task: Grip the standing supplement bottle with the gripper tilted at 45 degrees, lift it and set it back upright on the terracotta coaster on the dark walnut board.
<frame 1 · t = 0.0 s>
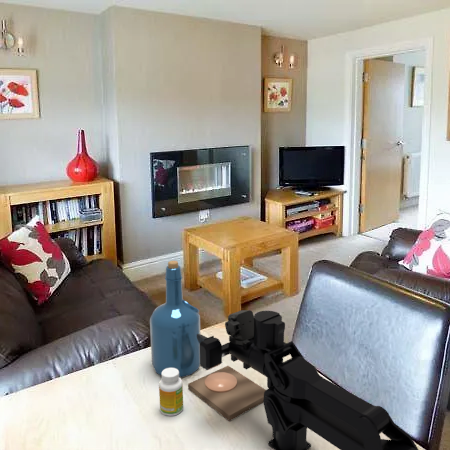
hand: (212, 329, 110), 17 cm above the table, tool horizontal, fingers open, 9 cm apart
coaster: (220, 382, 115), resting on walnut board
wine bottle: (177, 366, 126), on the table
supplement bottle: (171, 409, 108), on the table
walnut board: (228, 393, 113), on the table
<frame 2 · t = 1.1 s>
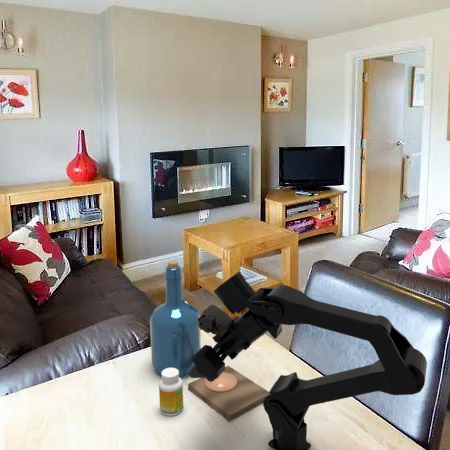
hand: (200, 365, 101), 13 cm above the table, tool tilted 45°, fingers open, 9 cm apart
nothing on the table moved.
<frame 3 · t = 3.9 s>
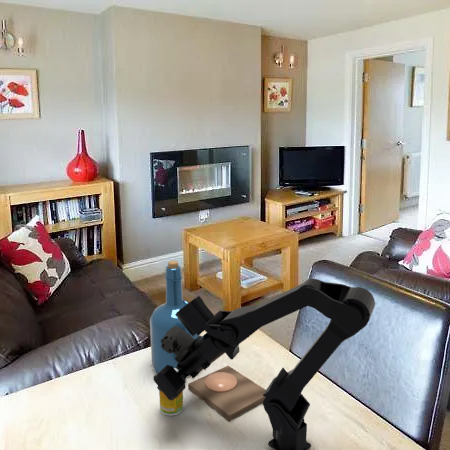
hand: (165, 382, 107), 7 cm above the table, tool tilted 45°, fingers closed on supplement bottle, 5 cm apart
supplement bottle: (171, 409, 108), on the table, touching gripper
everything else where it was.
when the fingers open (10 cm above the table, at t = 7.9 s): supplement bottle stays where it is, resting on coaster.
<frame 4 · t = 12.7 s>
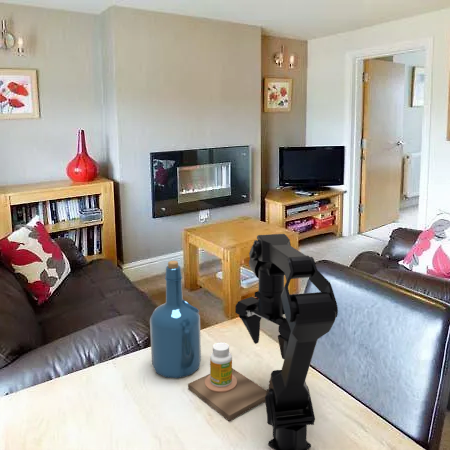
hand: (270, 350, 108), 13 cm above the table, tool pointing down, fingers open, 9 cm apart
supplement bottle: (221, 382, 115), point 2 cm above the table, touching coaster
everything else where it was.
at the end: supplement bottle 0.2 cm from the coaster (horizontally); supplement bottle tilted 0°; the gripper is holding nothing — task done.
